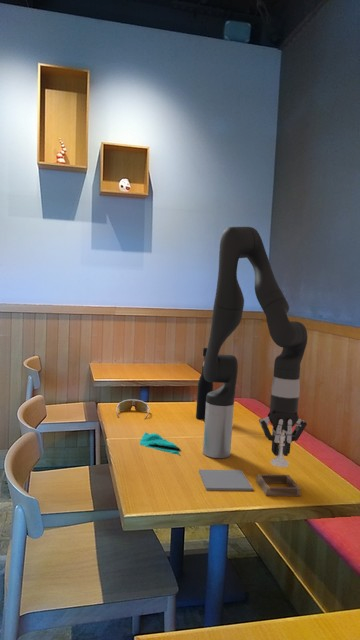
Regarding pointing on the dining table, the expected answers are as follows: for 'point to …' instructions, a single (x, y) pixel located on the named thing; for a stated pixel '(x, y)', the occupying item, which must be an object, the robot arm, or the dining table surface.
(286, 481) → the square frame
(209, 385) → the wine bottle
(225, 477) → the mat
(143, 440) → the cloth
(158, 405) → the dining table surface
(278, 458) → the chess piece
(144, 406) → the sunglasses
